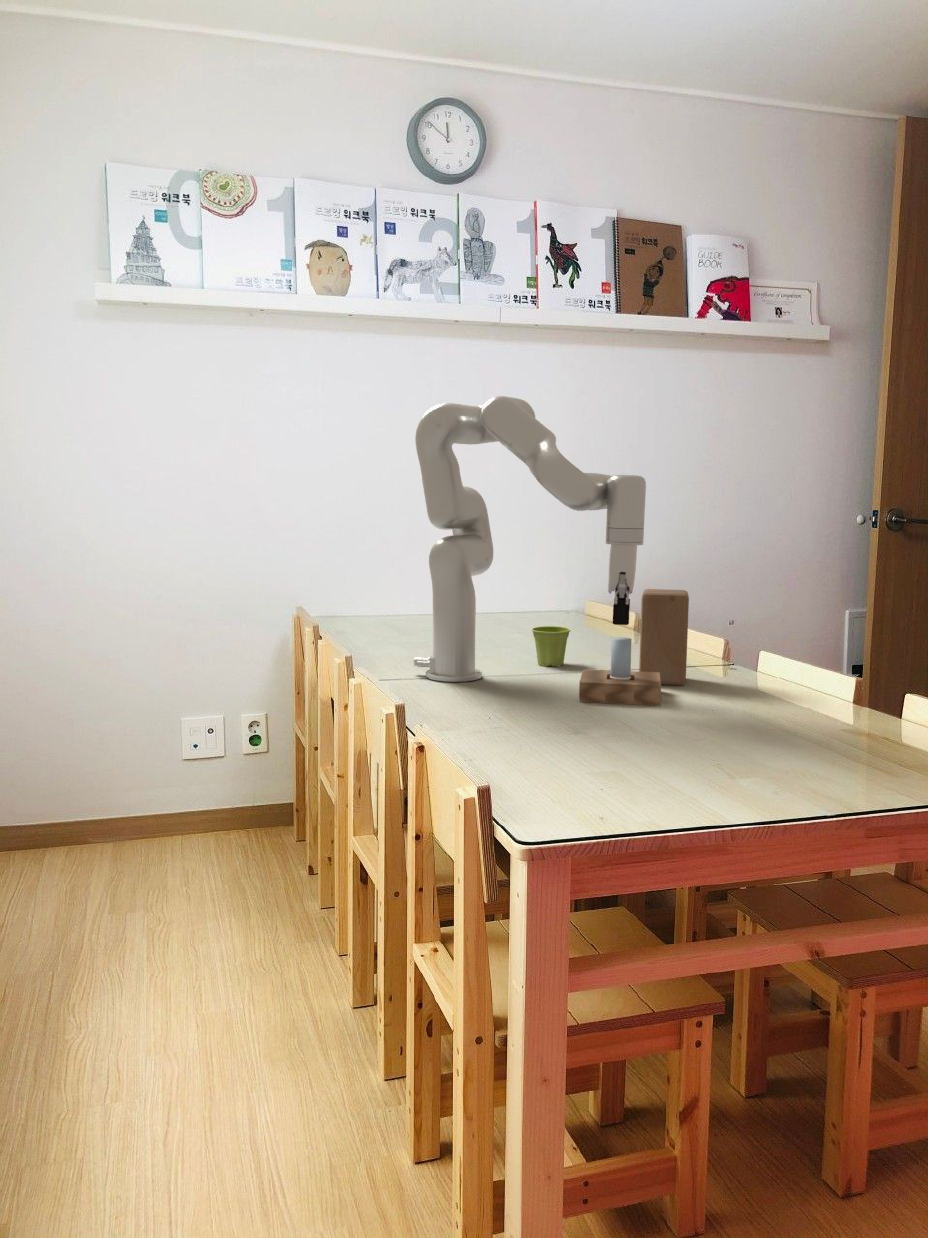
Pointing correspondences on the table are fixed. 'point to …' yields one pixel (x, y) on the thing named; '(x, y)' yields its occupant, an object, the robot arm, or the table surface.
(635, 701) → the seat block
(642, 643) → the wooden block
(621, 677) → the peg
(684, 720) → the table surface
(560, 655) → the plant pot
